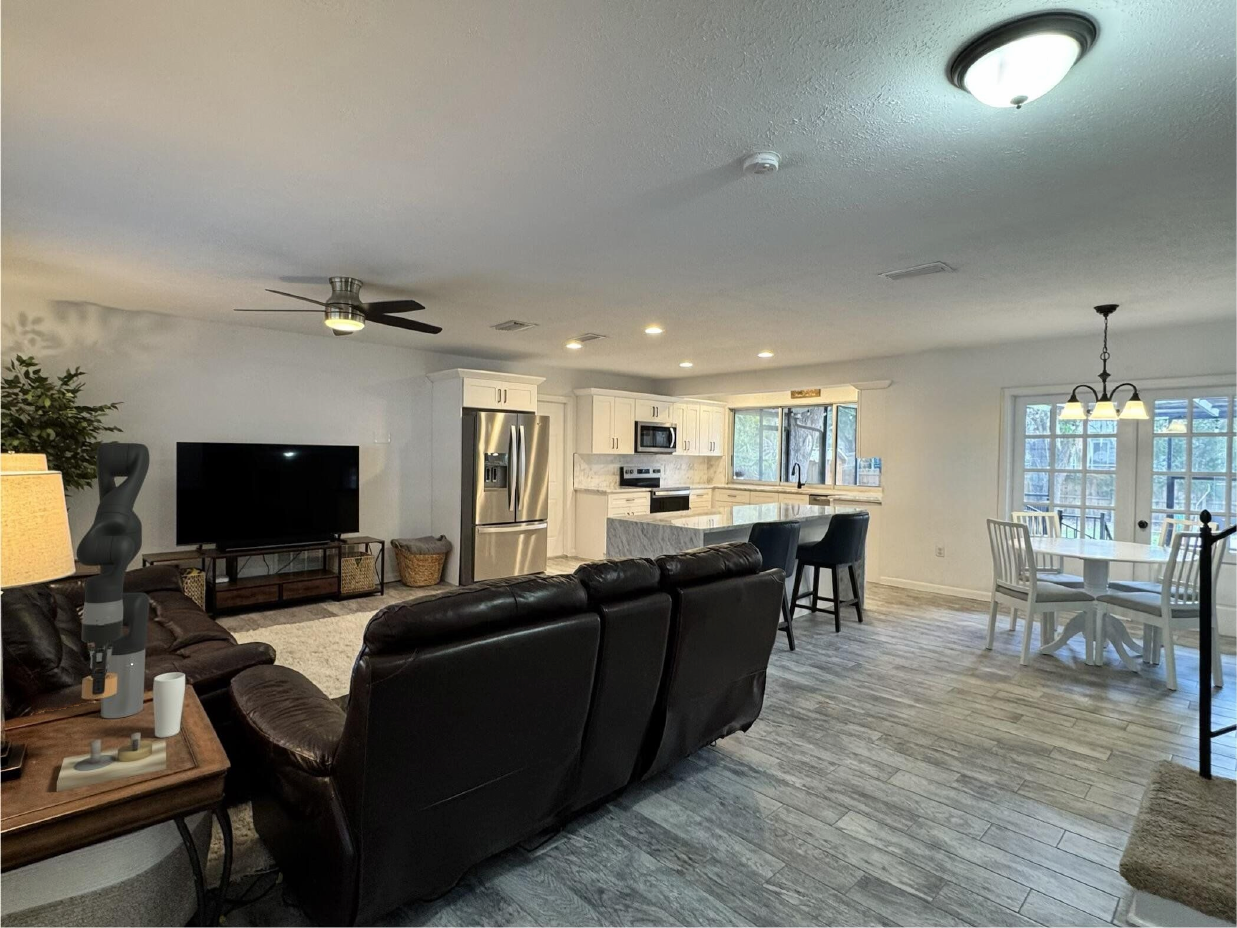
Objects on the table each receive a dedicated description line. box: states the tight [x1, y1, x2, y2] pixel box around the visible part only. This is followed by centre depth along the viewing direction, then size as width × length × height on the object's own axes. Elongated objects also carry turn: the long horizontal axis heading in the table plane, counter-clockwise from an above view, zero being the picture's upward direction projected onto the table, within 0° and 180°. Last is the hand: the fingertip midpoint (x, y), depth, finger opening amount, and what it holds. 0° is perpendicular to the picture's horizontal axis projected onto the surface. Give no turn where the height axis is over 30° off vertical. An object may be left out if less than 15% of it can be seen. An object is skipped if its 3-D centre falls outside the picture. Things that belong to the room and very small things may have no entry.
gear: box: [81, 673, 118, 700], centre depth 150 cm, size 6×6×4 cm
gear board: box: [56, 732, 167, 792], centre depth 145 cm, size 13×19×7 cm
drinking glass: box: [152, 671, 186, 739], centre depth 163 cm, size 7×7×15 cm
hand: (99, 688), depth 150 cm, fingers closed on gear, 6 cm apart
